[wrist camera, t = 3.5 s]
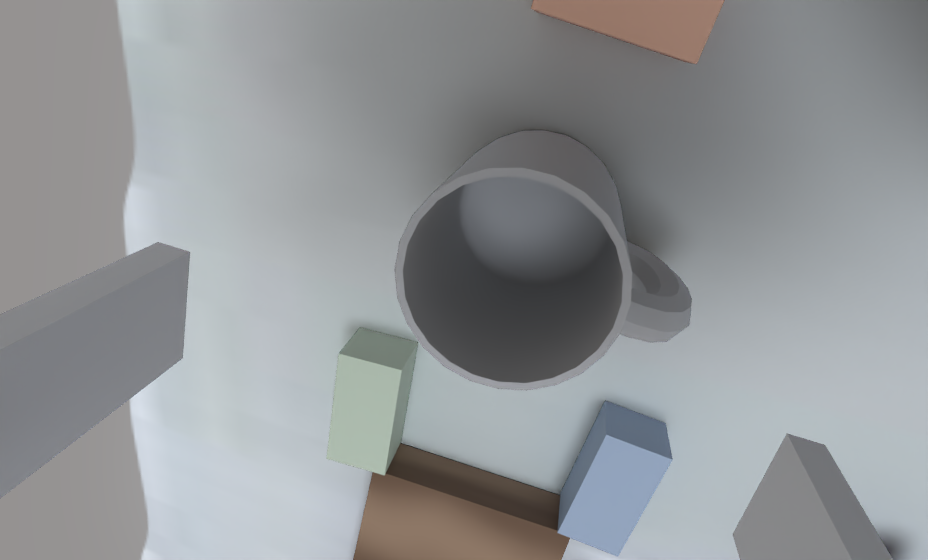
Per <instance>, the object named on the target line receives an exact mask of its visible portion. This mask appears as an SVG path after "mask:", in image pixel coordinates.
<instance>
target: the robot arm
mask: <svg viewBox="0 0 928 560" xmlns="http://www.w3.org/2000/svg"><path fill="white" fill-rule="evenodd" d="M189 259H190V252H189V251H186V250H182V249H179V248H176V247H172V246H169V245H166V244H163V243H159V242H157V243H155V244H153V245H151V246H149V247H146V248H144V249H142V250H140V251H138V252H135V253H133V254H131V255H129V256H127V257H125V258H122V259H120V260H118V261H116V262H114V263H111V264H109V265H107V266H105V267H103V268H100V269H98V270H96V271H94V272H92V273H90V274H87V275H85V276H83V277H81V278H79V279H76V280H74V281H72V282H70V283H68V284H65V285H63V286H61V287H59V288H57V289H54V290H52V291H51V292H48V293H46V294H44V295H41V296H39V297H37V298H35V299H32V300H30V301H28V302H26V303H24V304H22V305H19V306H17V307H15V308H13V309H11V310H8V311H6V312H4V313H2V314H0V498H1V497H3V496H4V495H6V494H7V493H8V492H9V491H10V490H12V489H13V488H15V487H16V486H17V485H18V484H20V483H21V482H22V481H24V480H25V479H26V478H27V477H29V476H30V475H31V474H33V473H34V472H35V471H37V470H38V469H39V468H41V467H42V466H43V465H44V464H46V463H47V462H48V461H50V460H51V459H52V458H54V457H55V456H56V455H57V454H59V453H60V452H61V451H63V450H64V449H65V448H67V447H68V446H69V445H70V444H72V443H73V442H74V441H76V440H77V439H78V438H80V437H81V436H82V435H83V434H85V433H86V432H87V431H88V430H90V429H91V428H93V427H94V426H95V425H96V424H98V423H99V422H100V421H102V420H103V419H104V418H106V417H107V416H108V415H109V414H111V413H112V412H113V411H115V410H116V409H117V408H118V407H120V406H121V405H122V404H123V403H125V402H126V401H128V400H129V399H130V398H132V397H133V396H134V395H135V394H137V393H138V392H139V391H141V390H142V389H143V388H144V387H146V386H147V385H148V384H150V383H151V382H152V381H154V380H155V379H156V378H157V377H159V376H160V375H161V374H163V373H164V372H165V371H167V370H168V369H169V368H170V367H172V366H173V365H174V364H176V363H177V362H178V361H180V360H181V359H182V358H183V347H184V333H185V318H186V303H187V288H188V274H189ZM733 537H734V540H735V544H736V547H737V550H738V554H739V557H740V560H893V559H892V557H891V555H890V554H889V552H888V550H887V549H886V547H885V545H884V543H883V542H882V540H881V538H880V537H879V535H878V533H877V532H876V530H875V528H874V527H873V525H872V523H871V522H870V520H869V518H868V517H867V515H866V513H865V511H864V510H863V508H862V506H861V505H860V503H859V501H858V500H857V498H856V496H855V495H854V493H853V491H852V490H851V488H850V486H849V485H848V483H847V481H846V479H845V478H844V476H843V474H842V473H841V471H840V469H839V468H838V466H837V464H836V463H835V461H834V459H833V458H832V456H831V454H830V453H829V451H828V449H827V447H826V446H825V445H823V444H820V443H817V442H813V441H810V440H807V439H804V438H800V437H797V436H794V435H790V434H786V436H785V438H784V440H783V442H782V444H781V445H780V447H779V449H778V451H777V453H776V455H775V457H774V458H773V460H772V462H771V464H770V466H769V468H768V470H767V471H766V473H765V475H764V477H763V479H762V481H761V483H760V484H759V486H758V488H757V490H756V492H755V494H754V496H753V497H752V499H751V501H750V503H749V505H748V507H747V509H746V510H745V512H744V514H743V516H742V518H741V520H740V521H739V523H738V525H737V527H736V529H735V531H734V533H733Z"/></svg>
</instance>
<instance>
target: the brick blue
mask: <svg viewBox="0 0 928 560" xmlns="http://www.w3.org/2000/svg"><path fill="white" fill-rule="evenodd" d="M671 462H672V454H671V449H670V444H669V439H668V433H667V428H666V423H664V422H661V421H659V420H656V419H653V418H651V417H648V416H645V415H643V414H640V413H637V412H635V411H632V410H629V409H627V408H624V407H621V406H619V405H616V404H613V403H611V402H608V401H605V402H604V404H603V406H602V408H601V410H600V412H599V414H598V416H597V418H596V420H595V423H594V425H593V427H592V429H591V431H590V433H589V435H588V437H587V439H586V441H585V443H584V445H583V447H582V449H581V452H580V454H579V456H578V458H577V460H576V462H575V464H574V466H573V468H572V470H571V472H570V474H569V476H568V478H567V480H566V483H565V485H564V487H563V489H562V491H561V493H560V505H559V519H558V532H557V533H559V534H562V535H564V536H567V537H569V538H572V539H574V540H577V541H579V542H582V543H585V544H587V545H590V546H592V547H595V548H597V549H600V550H602V551H605V552H607V553H610V554H613V555H615V556H619V554H620V552H621V550H622V549H623V547H624V545H625V543H626V541H627V540H628V538H629V536H630V534H631V533H632V531H633V529H634V527H635V525H636V524H637V522H638V520H639V518H640V517H641V515H642V513H643V511H644V510H645V508H646V506H647V504H648V502H649V501H650V499H651V497H652V495H653V494H654V492H655V490H656V488H657V486H658V485H659V483H660V481H661V479H662V478H663V476H664V474H665V472H666V471H667V469H668V467H669V465H670V463H671Z"/></svg>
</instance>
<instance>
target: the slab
mask: <svg viewBox="0 0 928 560" xmlns="http://www.w3.org/2000/svg"><path fill="white" fill-rule="evenodd" d="M559 505H560V495H557V494H554V493H551V492H547V491H544V490H541V489H538V488H535V487H532V486H529V485H526V484H523V483H520V482H517V481H514V480H511V479H508V478H505V477H502V476H499V475H496V474H493V473H490V472H486V471H483V470H480V469H477V468H474V467H471V466H468V465H465V464H462V463H459V462H456V461H453V460H450V459H447V458H444V457H441V456H438V455H435V454H432V453H429V452H425V451H422V450H419V449H416V448H413V447H410V446H407V445H404V444H401V443H400V445H399V447H398V449H397V451H396V453H395V455H394V457H393V459H392V461H391V463H390V465H389V468H388V470H387V472H386V474H385V475H381V474H378V473H374V472H373V474H372V478H371V483H370V487H369V491H368V496H367V500H366V505H365V509H364V514H363V518H362V523H361V527H360V532H359V536H358V541H357V545H356V550H355V554H354V558H353V560H561V559H562V557H563V554H564V552H565V549H566V547H567V544H568V542H569V539H570V538H569V537H567V536H564V535H562V534H559V533H557V532H558V519H559Z"/></svg>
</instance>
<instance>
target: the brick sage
mask: <svg viewBox="0 0 928 560" xmlns="http://www.w3.org/2000/svg"><path fill="white" fill-rule="evenodd" d="M417 347H418V342H415V341H411V340H407V339H403V338H399V337H395V336H391V335H388V334H384V333H380V332H376V331H372V330H368V329H364V328H361V327H360V328H359V329H358V331H357V332H356V333H355V334H354V336H353V337H352V338H351V339H350V340H349V342H348V343H347V344H346V345H345V346H344V348H343V349H342V350H341V351H340V353H339V355H338V363H337V372H336V381H335V389H334V398H333V407H332V415H331V424H330V433H329V441H328V450H327V459H329V460H332V461H336V462H339V463H343V464H346V465H350V466H353V467H357V468H360V469H364V470H367V471H371V472H374V473H378V474H381V475H385V474H386V472H387V470H388V468H389V465H390V463H391V461H392V459H393V457H394V455H395V453H396V451H397V449H398V447H399V445H400V443H401V440H402V434H403V428H404V422H405V416H406V411H407V405H408V399H409V393H410V387H411V382H412V376H413V370H414V364H415V358H416V352H417Z"/></svg>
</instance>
